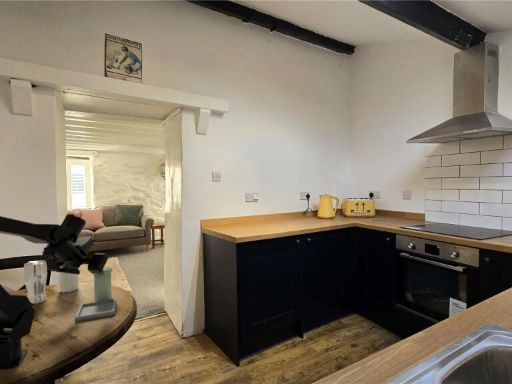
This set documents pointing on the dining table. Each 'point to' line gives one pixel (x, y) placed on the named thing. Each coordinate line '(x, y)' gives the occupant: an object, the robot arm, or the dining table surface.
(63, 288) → the white milk bottle
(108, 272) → the sage green mushroom knob
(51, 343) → the dining table surface
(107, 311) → the tray
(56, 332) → the dining table surface
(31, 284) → the beer glass
